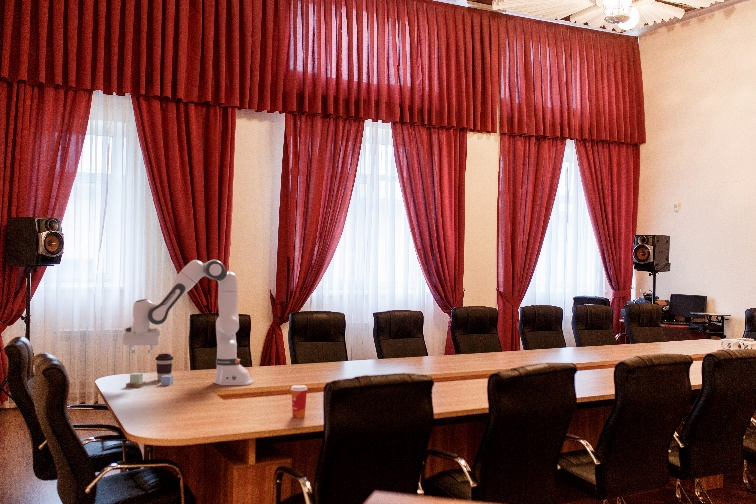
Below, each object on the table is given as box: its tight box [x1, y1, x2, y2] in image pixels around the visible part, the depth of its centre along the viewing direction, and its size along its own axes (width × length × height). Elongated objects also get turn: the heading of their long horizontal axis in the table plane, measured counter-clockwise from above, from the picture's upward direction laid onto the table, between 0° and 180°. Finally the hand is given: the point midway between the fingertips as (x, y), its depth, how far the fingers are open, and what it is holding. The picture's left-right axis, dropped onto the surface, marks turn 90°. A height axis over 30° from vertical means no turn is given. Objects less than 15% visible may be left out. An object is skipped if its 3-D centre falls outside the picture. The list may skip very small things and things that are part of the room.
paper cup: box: [290, 384, 308, 419], centre depth 319 cm, size 8×8×14 cm
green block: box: [129, 372, 143, 384], centre depth 386 cm, size 5×5×5 cm
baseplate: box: [125, 381, 147, 389], centre depth 386 cm, size 8×8×2 cm
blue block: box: [160, 374, 174, 387], centre depth 392 cm, size 5×5×5 cm
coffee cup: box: [155, 353, 174, 382], centre depth 406 cm, size 10×10×15 cm
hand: (141, 353), depth 387 cm, fingers open, 8 cm apart
